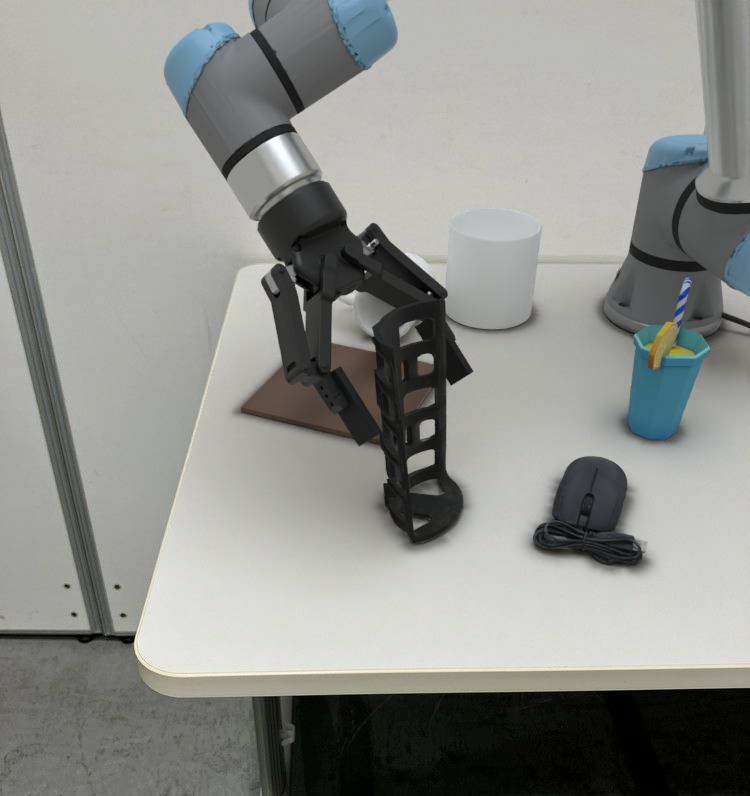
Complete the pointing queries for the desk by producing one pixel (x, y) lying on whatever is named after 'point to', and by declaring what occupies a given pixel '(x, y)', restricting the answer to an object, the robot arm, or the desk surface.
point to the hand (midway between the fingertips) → (419, 407)
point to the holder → (414, 421)
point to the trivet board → (309, 406)
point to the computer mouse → (591, 512)
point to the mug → (378, 304)
